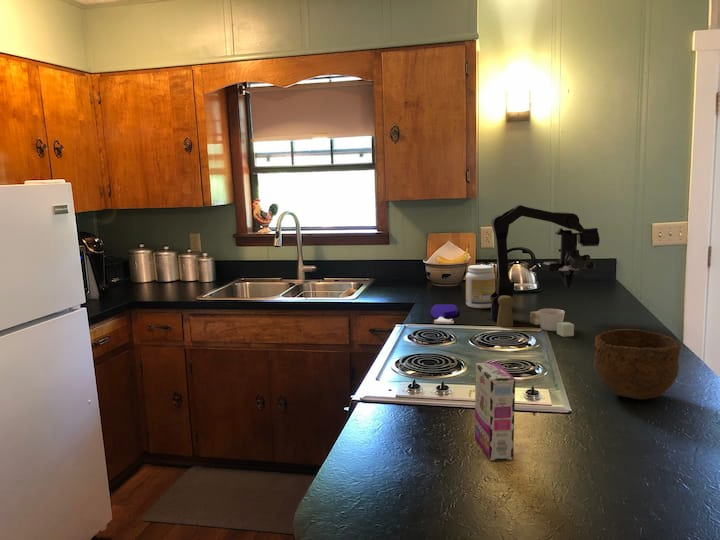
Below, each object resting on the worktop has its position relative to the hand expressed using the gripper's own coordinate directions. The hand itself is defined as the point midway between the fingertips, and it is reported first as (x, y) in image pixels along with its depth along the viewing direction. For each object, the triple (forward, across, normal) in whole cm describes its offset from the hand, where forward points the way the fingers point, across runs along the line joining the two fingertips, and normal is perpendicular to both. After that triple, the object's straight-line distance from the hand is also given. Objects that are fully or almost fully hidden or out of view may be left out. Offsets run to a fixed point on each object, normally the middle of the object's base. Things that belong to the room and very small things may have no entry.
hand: (567, 288), depth 223 cm
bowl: (+12, -30, -76) cm, 83 cm away
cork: (+12, -26, -1) cm, 29 cm away
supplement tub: (+12, -20, +33) cm, 40 cm away
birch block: (+12, -13, -2) cm, 18 cm away
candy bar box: (+12, -75, -92) cm, 119 cm away
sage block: (+12, -13, -20) cm, 26 cm away
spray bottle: (+13, -42, +19) cm, 48 cm away
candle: (+12, -13, -11) cm, 21 cm away
